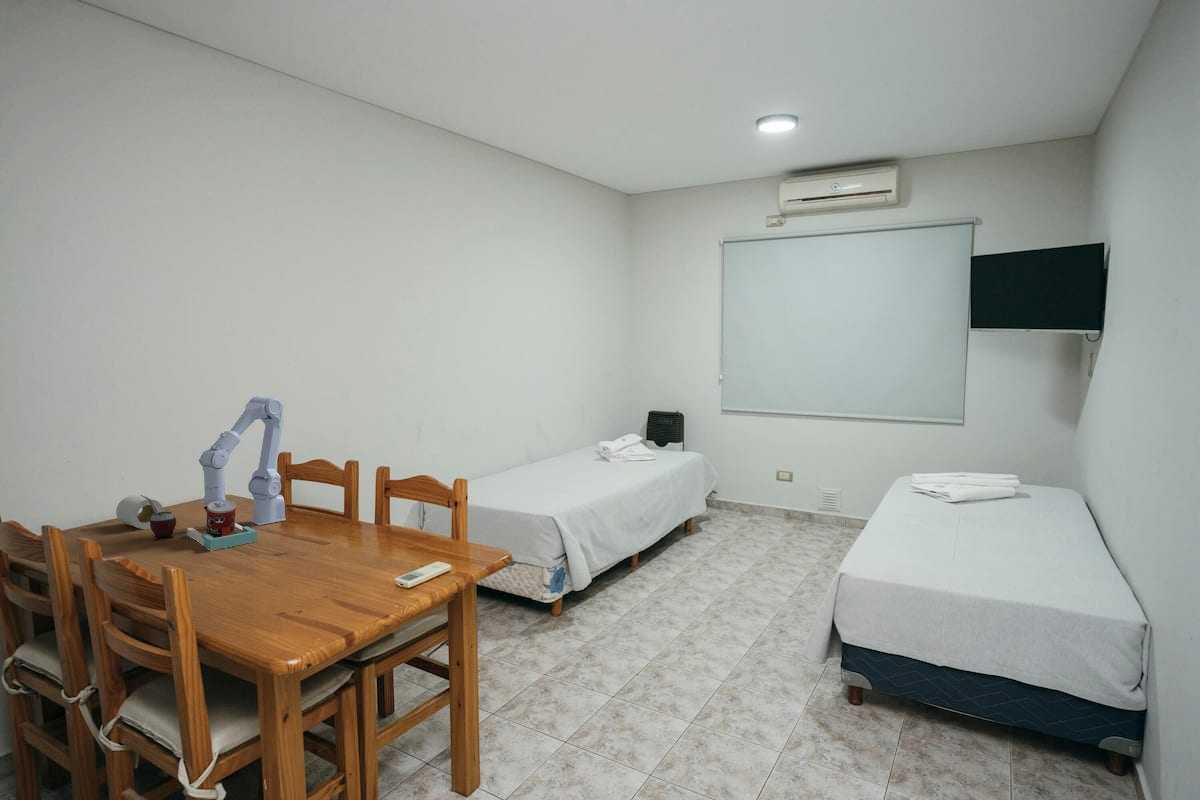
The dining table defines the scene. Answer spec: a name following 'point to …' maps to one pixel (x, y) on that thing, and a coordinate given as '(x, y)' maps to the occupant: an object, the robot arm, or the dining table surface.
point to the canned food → (220, 519)
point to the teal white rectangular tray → (224, 538)
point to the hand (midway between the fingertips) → (215, 527)
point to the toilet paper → (130, 509)
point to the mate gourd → (162, 523)
